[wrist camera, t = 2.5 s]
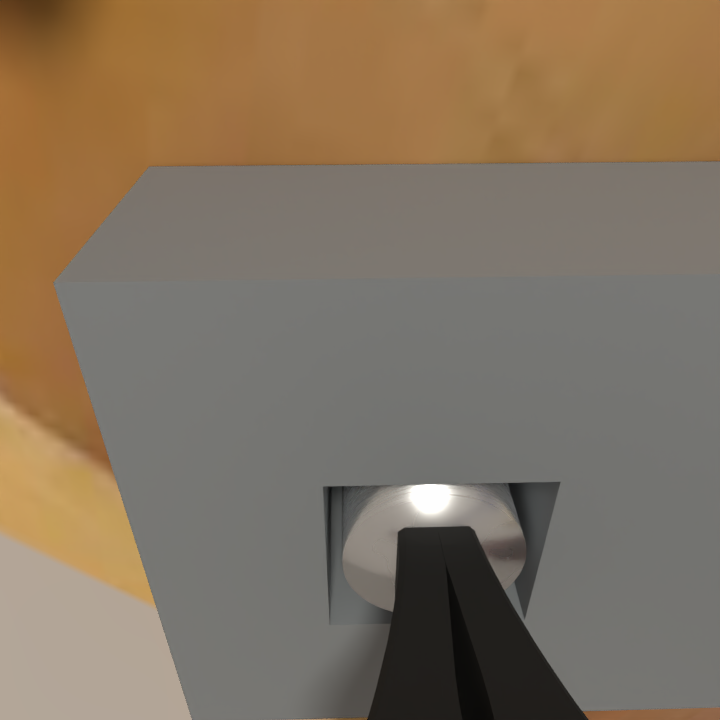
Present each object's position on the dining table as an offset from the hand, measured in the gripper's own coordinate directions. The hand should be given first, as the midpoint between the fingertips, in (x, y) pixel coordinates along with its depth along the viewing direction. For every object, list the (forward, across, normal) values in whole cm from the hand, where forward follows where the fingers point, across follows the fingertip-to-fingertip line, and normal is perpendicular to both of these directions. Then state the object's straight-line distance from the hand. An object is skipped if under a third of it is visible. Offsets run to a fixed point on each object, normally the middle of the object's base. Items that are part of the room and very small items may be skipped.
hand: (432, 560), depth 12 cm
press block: (+5, -6, 0) cm, 7 cm away
